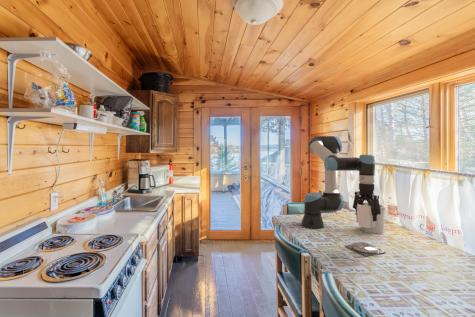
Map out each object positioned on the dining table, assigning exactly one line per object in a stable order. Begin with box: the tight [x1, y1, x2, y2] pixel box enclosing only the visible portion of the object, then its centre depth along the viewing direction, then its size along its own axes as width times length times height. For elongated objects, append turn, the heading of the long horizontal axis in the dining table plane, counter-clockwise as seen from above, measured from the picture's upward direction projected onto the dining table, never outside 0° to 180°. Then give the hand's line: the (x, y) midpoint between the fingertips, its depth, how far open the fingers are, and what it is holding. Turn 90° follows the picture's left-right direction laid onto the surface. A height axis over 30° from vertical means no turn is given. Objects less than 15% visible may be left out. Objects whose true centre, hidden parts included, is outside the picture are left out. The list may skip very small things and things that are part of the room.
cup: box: [357, 201, 375, 228], centre depth 134 cm, size 9×9×12 cm
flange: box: [344, 241, 387, 258], centre depth 135 cm, size 14×14×2 cm
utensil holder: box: [360, 203, 386, 235], centre depth 167 cm, size 15×15×18 cm
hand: (365, 224), depth 134 cm, fingers closed on cup, 9 cm apart
